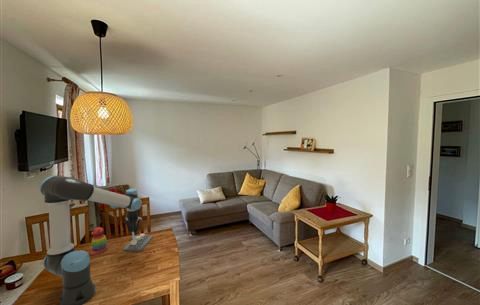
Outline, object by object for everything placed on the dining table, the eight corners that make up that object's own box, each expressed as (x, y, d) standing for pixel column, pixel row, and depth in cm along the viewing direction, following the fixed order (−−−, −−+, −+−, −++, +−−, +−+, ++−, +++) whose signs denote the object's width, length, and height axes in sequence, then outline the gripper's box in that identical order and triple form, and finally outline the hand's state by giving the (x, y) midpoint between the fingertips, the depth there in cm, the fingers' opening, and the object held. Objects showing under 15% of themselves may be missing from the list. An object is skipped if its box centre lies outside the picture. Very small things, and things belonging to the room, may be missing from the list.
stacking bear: (92, 248, 158) (91, 226, 157) (108, 245, 162) (106, 223, 161) (89, 256, 148) (87, 232, 147) (105, 252, 153) (104, 229, 151)
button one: (135, 246, 156) (135, 242, 156) (130, 246, 156) (129, 242, 156) (138, 243, 160) (137, 239, 160) (133, 243, 160) (132, 239, 160)
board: (141, 251, 155) (140, 247, 155) (122, 250, 155) (122, 247, 155) (152, 237, 175) (152, 234, 174) (136, 237, 175) (136, 234, 175)
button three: (143, 239, 169) (143, 235, 169) (138, 239, 169) (138, 235, 169) (146, 236, 173) (145, 233, 173) (141, 236, 173) (141, 233, 173)
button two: (139, 241, 163) (139, 237, 162) (134, 241, 163) (134, 237, 162) (142, 239, 167) (142, 235, 166) (137, 239, 167) (137, 235, 166)
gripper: (143, 207, 159) (145, 236, 162) (126, 207, 160) (128, 236, 162) (138, 211, 152) (140, 241, 154) (121, 211, 152) (122, 241, 154)
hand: (134, 239), depth 158 cm, fingers closed
